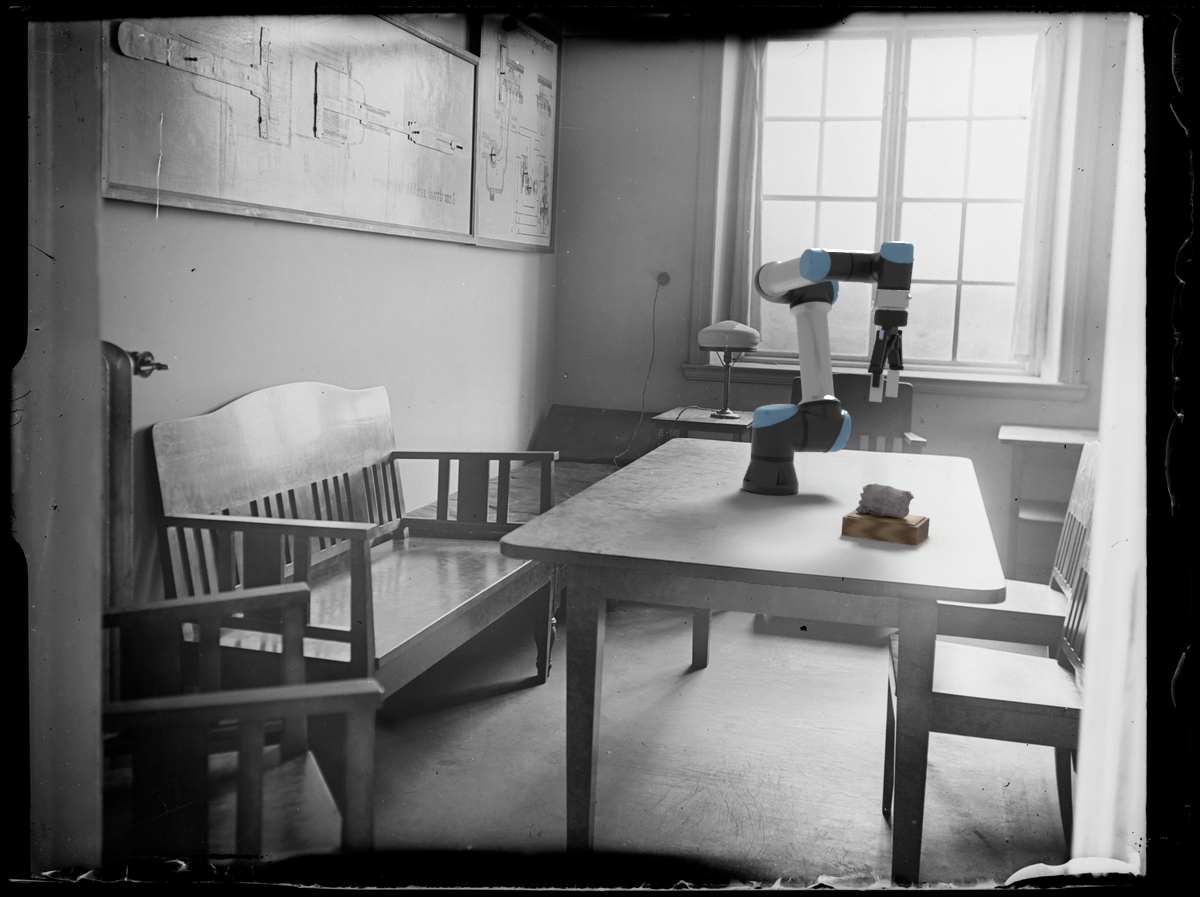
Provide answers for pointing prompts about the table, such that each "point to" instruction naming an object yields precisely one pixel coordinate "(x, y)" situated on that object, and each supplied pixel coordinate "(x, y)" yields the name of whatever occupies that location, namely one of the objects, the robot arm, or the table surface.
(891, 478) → the table surface
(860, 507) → the stone
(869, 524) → the walnut slab
